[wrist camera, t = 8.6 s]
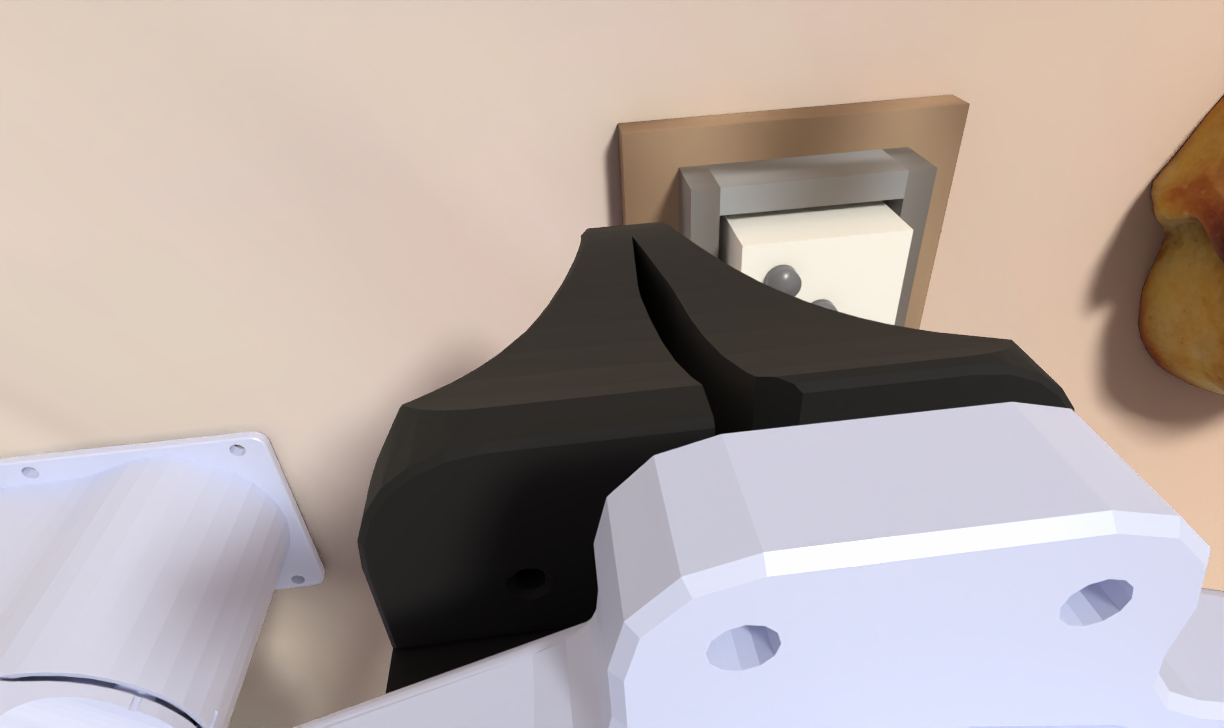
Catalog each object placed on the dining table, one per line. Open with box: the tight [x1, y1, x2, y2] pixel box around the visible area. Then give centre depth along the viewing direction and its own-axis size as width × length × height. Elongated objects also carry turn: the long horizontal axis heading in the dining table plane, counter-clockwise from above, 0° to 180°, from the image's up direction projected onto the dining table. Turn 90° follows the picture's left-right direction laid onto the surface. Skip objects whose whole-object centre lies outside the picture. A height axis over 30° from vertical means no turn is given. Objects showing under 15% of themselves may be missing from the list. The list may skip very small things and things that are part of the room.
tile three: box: [718, 201, 913, 325], centre depth 21 cm, size 5×5×3 cm
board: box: [618, 95, 969, 329], centre depth 26 cm, size 10×21×3 cm, turn 3°
